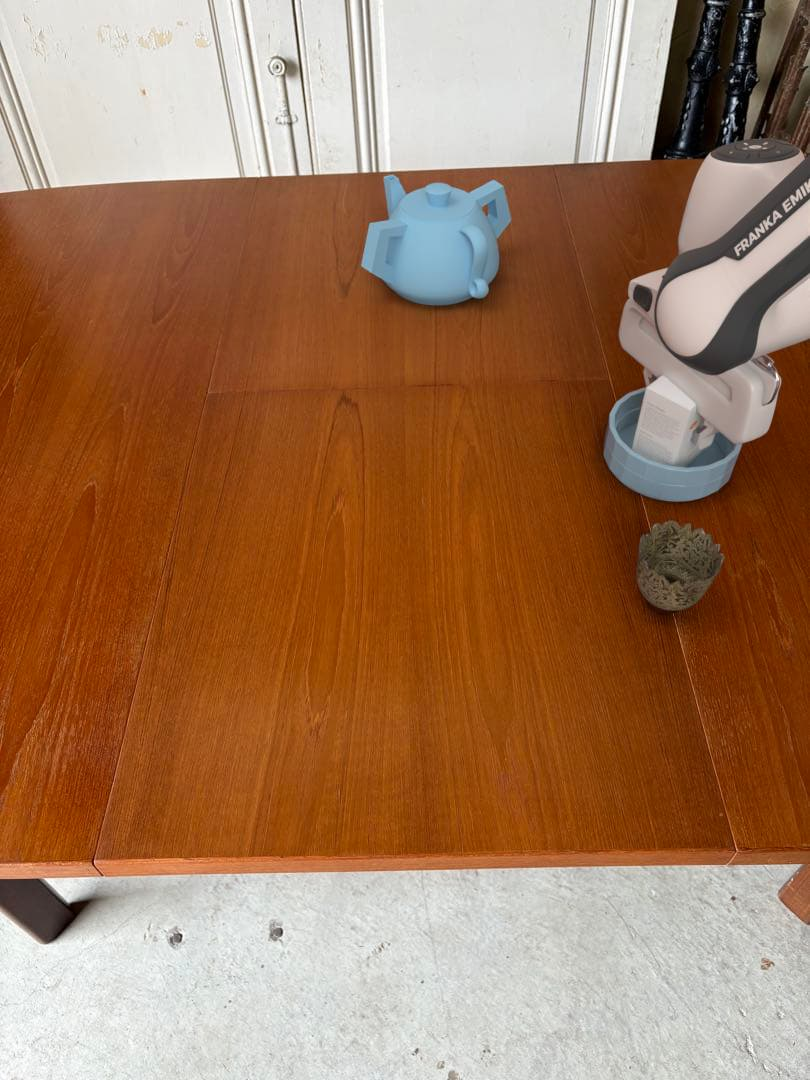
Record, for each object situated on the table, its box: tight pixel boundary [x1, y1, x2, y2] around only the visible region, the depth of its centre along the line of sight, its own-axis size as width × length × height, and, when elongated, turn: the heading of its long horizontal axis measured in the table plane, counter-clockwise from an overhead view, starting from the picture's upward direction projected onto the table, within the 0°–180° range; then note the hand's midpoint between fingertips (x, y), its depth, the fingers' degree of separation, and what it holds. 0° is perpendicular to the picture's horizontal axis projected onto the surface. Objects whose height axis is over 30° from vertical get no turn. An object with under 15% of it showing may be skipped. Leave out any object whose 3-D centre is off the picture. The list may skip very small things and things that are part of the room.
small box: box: [632, 375, 707, 467], centre depth 89 cm, size 8×6×10 cm
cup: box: [636, 519, 725, 616], centre depth 77 cm, size 8×7×8 cm
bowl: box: [602, 386, 744, 503], centre depth 92 cm, size 14×14×5 cm
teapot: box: [360, 173, 512, 306], centre depth 116 cm, size 19×19×14 cm
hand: (676, 423), depth 90 cm, fingers closed on small box, 6 cm apart
